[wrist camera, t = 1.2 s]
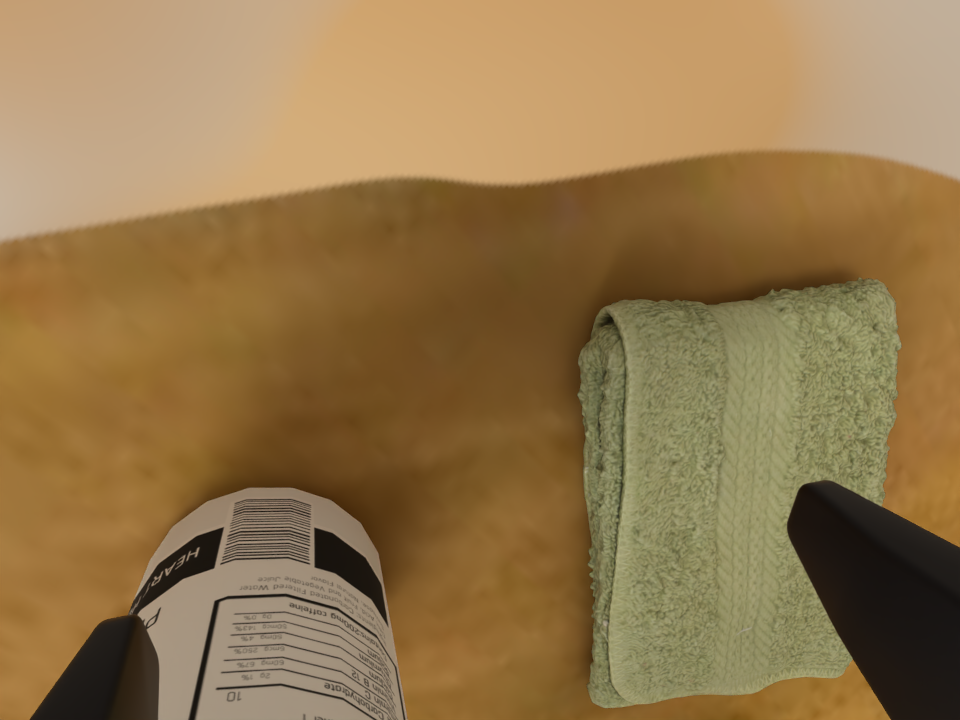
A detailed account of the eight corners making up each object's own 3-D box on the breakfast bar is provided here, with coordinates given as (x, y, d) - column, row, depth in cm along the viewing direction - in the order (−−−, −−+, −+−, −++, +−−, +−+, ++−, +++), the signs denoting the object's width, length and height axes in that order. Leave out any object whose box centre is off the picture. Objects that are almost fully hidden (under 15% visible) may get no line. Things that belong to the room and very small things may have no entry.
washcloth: (575, 696, 31) (603, 755, 28) (566, 298, 26) (600, 316, 23) (836, 637, 33) (889, 685, 30) (874, 266, 28) (941, 278, 25)
